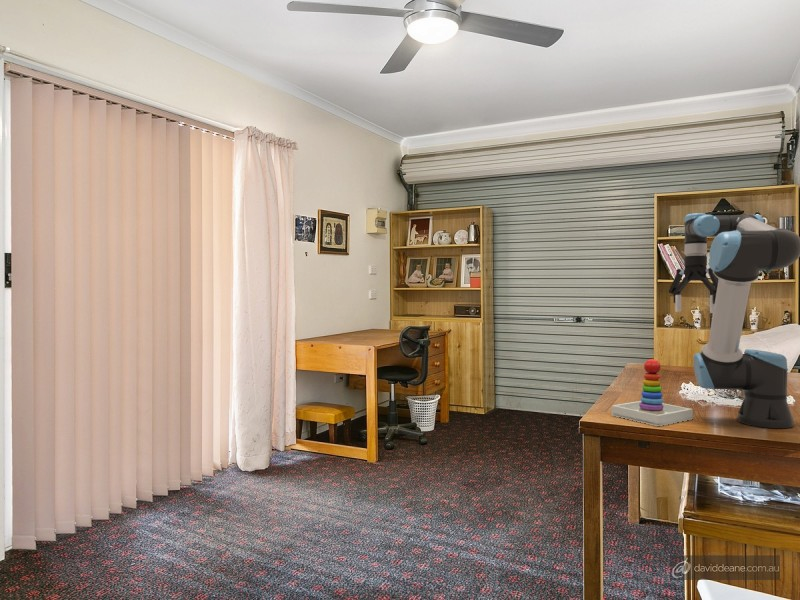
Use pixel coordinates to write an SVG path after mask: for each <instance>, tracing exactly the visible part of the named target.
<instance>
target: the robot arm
mask: <svg viewBox="0 0 800 600" xmlns="http://www.w3.org/2000/svg"><path fill="white" fill-rule="evenodd" d="M683 226H684V250H683V251H684V255H685V256H684V258H683V259H684V269H683V268H677V269H676V274H675V276H674V279H673V281H672V283H671V285H670V287H669V289H668V293H669V294H672V295H673V303H674V304H675V306H674V312H675V313H681V312H682V297H683V296H682V295H681V293H682V291H684V289H685V288H686V287H687V285H688V284H689V282H691V281H693V282H694V281H701V283H703V284H704V286H705V287H706V288H707V289H708V291H710V293H711V294H709V314H712V318H711V324H710V328H709V336H708V337H709V338H708V342H707V343H705V344H704V345H702V348H701V352H696V353H694V355H693V361H692V362H693V371H694V375H695V380H696V382H697V384H698V386H699V387H700V388H702V389H705V390H706V389H708V390H733V391H734V390H735V391H744V393H743V394H744V395H743V396H744V400H743V401H741V402H742V403H741V406H740V407H739V410H738V412H737V421H738V422H740V423H742V424H745V425H747V426H752V427H758V428H765V429H766V428H767V429H790V428H792V427H794V417H793V414H792V412H791V408H790V406H789V404H788V399H787V398H788V371H789V369H788V359H787V357H786V356H785V355H783V354H781V353H777V352H771V351H765V350H759V349H752V348H751V349H750V348H746V349H745V350H744V351H742V350H741V349H740V348H739V347H740V343H741V336H742V332H743V325H744V322H745V318H746V317H745V316H746V312H747V311H746V310H747V305H748V301H749V297H750V296H749V294H750V290H751V284H752V283H753V282H755V281H757V279H758V278H759V275H760V271H777V270H783V269H785V268H787V267H789V266H791V265H792V264H794V263H795V262H797V260H798V259H799V258H800V236H799V235H798V234H797V233H796V232H794V231H792V230H790V229H786V228H777V227H774V226H772V225H770V224H767V223H765V221H764V217H763V216H762V215H760V214H751V213H748V214H733V215H732V214H731V215H729V214H728V215H713V214H706V213H699V212H698V213H697V212H696V213H689V214H686V215H685V216H684V223H683ZM708 238H714V239H713V241H712V242H711V246H710V248H709V255H708V256H709V259H708V256H706V255H707V254H708ZM708 264H709V267H708V268H707V265H708ZM707 274H708V276H709V278H708V276H707ZM684 275H685V276H684ZM683 276H684V277H683Z"/></svg>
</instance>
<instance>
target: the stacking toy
mask: <svg viewBox="0 0 800 600" xmlns="http://www.w3.org/2000/svg"><path fill="white" fill-rule="evenodd" d="M643 368H644V370H645V372H646V373H644V374H643V378H644V379H643V380H642V384H643V385H642V386H641V389H642V391H641V397H640V401H641V403H640V404H639V406H640V409H639V411H642V412H647V413H651V414H656V415H659V414H664V413H665V412H664V410H663V404H662V403H664V399H663V392H661V391H662V386H661V384H662V382H661V380H660V379H661V374H659V372H660V370H661V364H660V362H659V361H658V360H657V359H653V358H651V359H648V360H645V362H644V365H643Z"/></svg>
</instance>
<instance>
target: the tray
mask: <svg viewBox="0 0 800 600" xmlns="http://www.w3.org/2000/svg"><path fill="white" fill-rule="evenodd" d="M640 403H641V400H638V401H632V402H625V403H619V404H613V405H611V417H615V416H616V417H615V418H619V417H621V418H620V419H623V418H625V419H624V420H627V419H629V420H628V421H632V420H633V421H632V422H636V421H637V422H636V423H640V422H641V424H644V423H646V424H645V425H648V424H650V426H653V425H654V426H653V427H657V426H660V427H663V425H664V426H668V424H669V425H672V424H673V423H674V424H678V423H677V422H679V423H683V422H682V421H684V422H688V421H687V420H689V421H693V420H694V409H693V408H688V407H684V406H683V407H682V406H679V405H673V404H669V403H664V402H663V403H662V404H663V410H664V412H665V413H664V414H659V415H656V414H651V413H647V412H642V411H639V409H640V406H639V404H640ZM692 419H693V420H692ZM674 424H673V425H674Z"/></svg>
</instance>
